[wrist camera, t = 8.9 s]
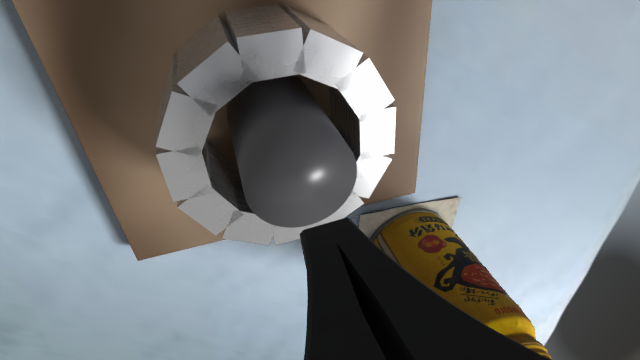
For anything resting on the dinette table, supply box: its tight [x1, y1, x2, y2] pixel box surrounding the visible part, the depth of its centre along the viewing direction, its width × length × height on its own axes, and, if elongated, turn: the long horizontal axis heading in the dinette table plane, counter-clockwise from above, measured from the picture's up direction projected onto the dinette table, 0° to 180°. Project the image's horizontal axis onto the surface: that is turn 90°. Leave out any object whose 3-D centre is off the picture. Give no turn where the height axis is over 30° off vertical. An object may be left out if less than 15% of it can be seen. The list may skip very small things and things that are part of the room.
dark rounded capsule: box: [226, 75, 357, 228], centre depth 16 cm, size 4×4×6 cm
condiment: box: [359, 197, 552, 360], centre depth 23 cm, size 7×8×12 cm
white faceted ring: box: [156, 4, 396, 245], centre depth 17 cm, size 9×9×4 cm
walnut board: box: [12, 0, 432, 261], centre depth 19 cm, size 16×14×1 cm
